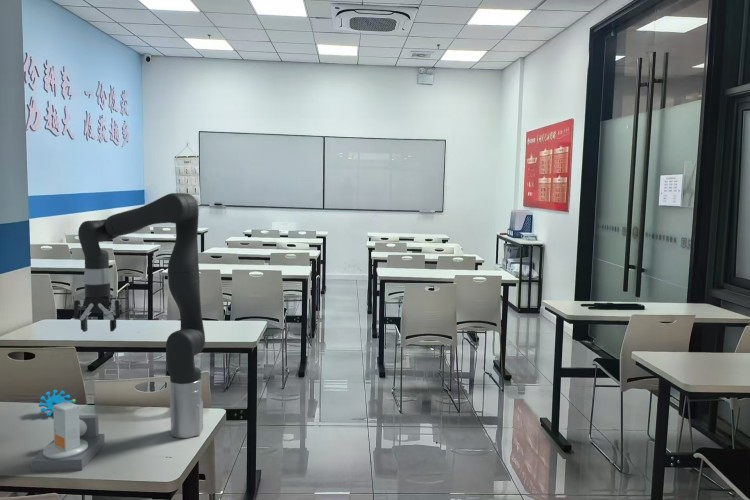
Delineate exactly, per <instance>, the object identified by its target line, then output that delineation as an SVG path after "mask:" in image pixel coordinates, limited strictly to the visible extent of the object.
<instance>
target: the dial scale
mask: <svg viewBox="0 0 750 500" xmlns="http://www.w3.org/2000/svg"><path fill="white" fill-rule="evenodd" d="M99 423H100V421H99V414H86V415H84V414H83V415H80V414H79V433H80V447H77V448H74V449H72V450H69V451H64V450H62V449H60V448H58V447H56V446H54V439H53V440H52V441H50V443H49V444H48V445H47V446H46V447H44V448H43V449H42V450H41V451H40V452H39V453H38V454H37V455H36V456H35V457H34V458H33V459H31V460H30V470H31V471H30V472H31V473H32V472H33V473H35V472H37V473H38V472H40V473H41V472H63V471H65V472H67V471H83V470H84V469H85V467H86V466H87V465H88V463H89V462H91V460H92V459H93V458H94V457H95V456H96V454H97V453H99V451H100V449H102V447H103V446H104V445H105V444H106V442H105V441H106V440H105V438H106V437H105V433H100V432H99V431H100V428H99ZM89 464H90V463H89Z"/></svg>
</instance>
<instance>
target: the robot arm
mask: <svg viewBox="0 0 750 500" xmlns="http://www.w3.org/2000/svg"><path fill="white" fill-rule="evenodd" d="M199 212H200V211H199V204H198V201H197V199H196V198H195V197H194V196H193V195H192V194H189V193H185V192H184V193H181V192H180V193H179V192H172V193H168V194H165V195H164V196H162V197H159V198H158V199H155V200H154V201H151V202H149V203H147V204H145V205H143V206H140V207H135V208H133V209H129V210H125V211H121V212H118V213H116V214H112V215H110V216H108V217H107V218H105V219H100V220H99V219H97V220H95V219H94V220H86V221H83V222H81V224H80V226H79V227H78V230H77V231H78V232H77V235H78V240H79V243H80V247H81V250H82V252H83V255H84V277H83V282H84V299H80V298H78V299H76V300H74V305H73V318H74V319H75V320H76V319H78V320H80V329H81V331H82V332H84V333H85V332H87V331H88V319H87V318H88V317H89V315H90V314H96V313H97V314H103V313H104V314H105V316H107V317H108V318H109V331H110V332H114V331H115V330H116V329H117V319H119V318H122V316H123V307H122V306H123V305H122V299H120V298H117V299H112V298H111V273H110V264H109V263H110V259H109V255H110V254H109V252H108V251H107V250H106V249H102V248H101V246H100V243H103V242H108V241H111V240H114V239H116V238H118V237H122V236H125V235H126V236H127V235H129V234H132V233H135V232H138V231H141V230H142V229H144V228H146V227H148V226H151V225H157V224H175V242H174V245H173V248H172V252H171V254H170V257H169V259H168V262H167V263H168V264H167V282H168V283H167V284H168V288H169V292H170V294H171V297H172V298H173V300H174V302H175V303H176V306H177V308H178V311H179V316H180V329H179V330H178V329H177V330H176V331H173V332H172V333H171V334H169V336H168V337H167V338H166V341H165V342H166V343H165V357H166V369H167V373H168V375H169V380H170V381H169V385H170V386H169V387H170V389H169V390H170V435H171V436H172V437H174V438H177V439H187V438H189V439H190V438H193V437H196V436H201V433H202V431H203V429H204V401H203V399H202V371H201V369H200V368H199V367H197V366H195V361H194V357H195V356H196V355H198V354H200V353H201V352H202V351H203V350H204V348H205V345H206V334H205V327H204V321H203V316H202V305H201V289H200V286H201V285H200V269H199V268H200V266H199V245H198V232H199V230H198V229H199ZM112 305H113V307H114V308H115V309H114V310H115V312H114V311H113V309H112V308H111V306H112ZM83 306H85V310H84V312H83V313H81V312H82V307H83Z"/></svg>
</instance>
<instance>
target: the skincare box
mask: <svg viewBox="0 0 750 500" xmlns="http://www.w3.org/2000/svg"><path fill="white" fill-rule="evenodd" d="M68 401H69V400H68ZM68 401H67V402H63V403H60V404H56V405H53V413H52V414H53V415H52V416H53V440H54V446H56V447H58V448H60V449H62V450H64V451H69V450H72V449H74V448H77V447H80V433H79V415H80V410H79V409H80V408H79V404H78V405H77V404H75V403H70V402H68Z"/></svg>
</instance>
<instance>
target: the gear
mask: <svg viewBox="0 0 750 500" xmlns="http://www.w3.org/2000/svg"><path fill="white" fill-rule="evenodd" d="M58 392H59V391H58V390H57V389H54V390H53V391H52V396H50V395H51V392H50V391H46V392H45V396H44V395H43V396H42V395H41V397H40V398H39V400H40V402H39V404H38V407H40V408H41V409H40V412H41V413H42V414H43V413H45V412H46V416H47V417H51V415H52V414H53V405H56V404H60V403H63V402H67V401H68V402H70V403H74V404H75V403H76V401H77V400H76V398H74V399H73V398H72V399H70V398H71V395H70V394H66V392H65V391H64V390H60V392H59V394H57V393H58ZM56 394H57V395H56ZM65 394H66V395H65ZM46 397H47V399H46ZM69 399H70V400H69ZM43 402H44V403H43Z"/></svg>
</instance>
